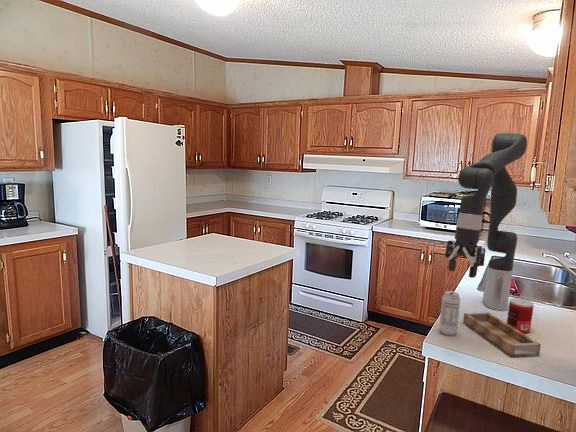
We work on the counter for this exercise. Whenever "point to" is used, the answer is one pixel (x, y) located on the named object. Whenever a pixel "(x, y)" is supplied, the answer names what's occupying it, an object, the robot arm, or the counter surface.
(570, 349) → the counter surface
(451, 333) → the energy drink can
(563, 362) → the counter surface
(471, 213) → the robot arm
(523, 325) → the canned food
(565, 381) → the counter surface
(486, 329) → the wooden tray
